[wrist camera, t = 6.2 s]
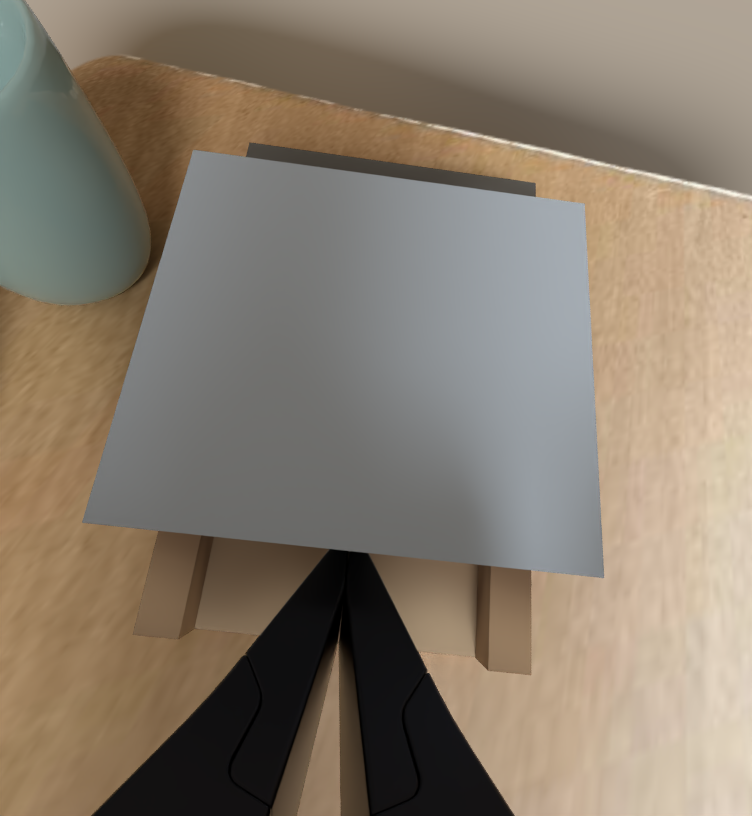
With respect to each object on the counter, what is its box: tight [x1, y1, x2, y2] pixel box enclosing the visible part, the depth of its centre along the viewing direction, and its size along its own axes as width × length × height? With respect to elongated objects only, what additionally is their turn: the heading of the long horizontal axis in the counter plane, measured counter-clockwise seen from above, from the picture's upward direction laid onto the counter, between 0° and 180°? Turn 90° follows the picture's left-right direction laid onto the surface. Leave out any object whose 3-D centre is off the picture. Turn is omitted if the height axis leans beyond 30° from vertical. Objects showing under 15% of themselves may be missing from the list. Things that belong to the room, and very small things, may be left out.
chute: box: [133, 143, 536, 675], centre depth 19 cm, size 22×14×3 cm, turn 174°
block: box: [82, 150, 604, 578], centre depth 14 cm, size 9×10×10 cm
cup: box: [0, 0, 152, 306], centre depth 16 cm, size 8×8×10 cm
